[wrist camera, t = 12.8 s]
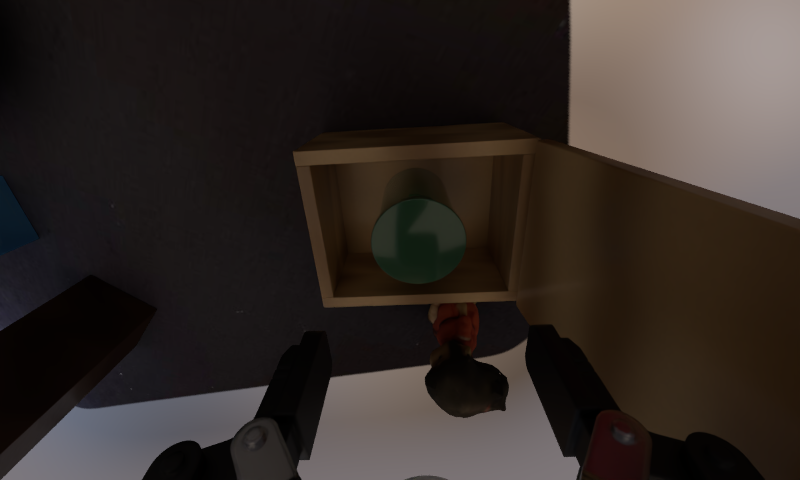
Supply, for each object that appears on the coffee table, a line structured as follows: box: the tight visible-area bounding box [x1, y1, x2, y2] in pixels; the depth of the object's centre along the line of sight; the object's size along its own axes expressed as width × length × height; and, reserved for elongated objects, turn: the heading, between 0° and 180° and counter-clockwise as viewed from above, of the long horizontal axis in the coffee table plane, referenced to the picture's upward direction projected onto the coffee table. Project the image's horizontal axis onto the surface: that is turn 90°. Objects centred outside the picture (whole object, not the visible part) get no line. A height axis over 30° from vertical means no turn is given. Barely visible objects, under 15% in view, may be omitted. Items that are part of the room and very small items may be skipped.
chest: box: [293, 122, 540, 307], centre depth 25 cm, size 15×12×8 cm
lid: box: [516, 139, 800, 480], centre depth 14 cm, size 16×12×5 cm
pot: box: [371, 168, 467, 284], centre depth 24 cm, size 6×6×8 cm
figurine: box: [425, 302, 509, 418], centre depth 29 cm, size 6×6×12 cm
